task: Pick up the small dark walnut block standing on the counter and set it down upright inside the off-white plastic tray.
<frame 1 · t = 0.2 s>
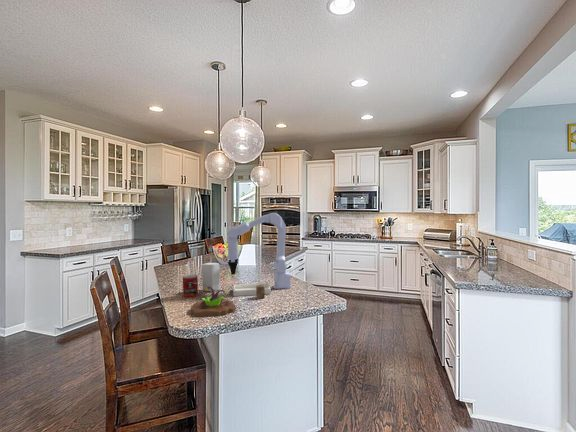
hand: (233, 272, 179), 10 cm above the countertop, tool pointing down, fingers open, 7 cm apart
walnut block: (260, 297, 163), on the countertop
plant: (212, 311, 143), on the countertop
canned food: (190, 296, 169), on the countertop
skincare box: (211, 290, 180), on the countertop
tray: (251, 291, 175), on the countertop
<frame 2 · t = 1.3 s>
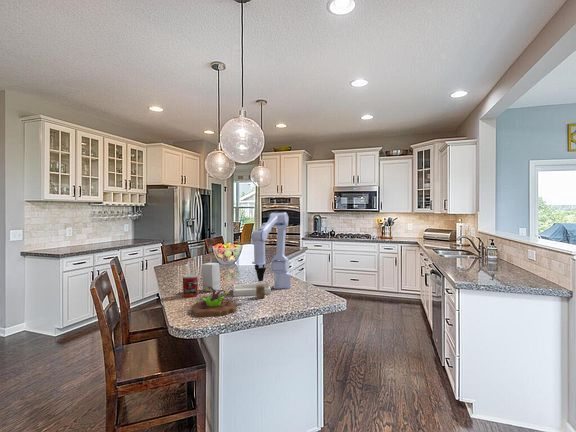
hand: (260, 279, 163), 9 cm above the countertop, tool pointing down, fingers open, 7 cm apart
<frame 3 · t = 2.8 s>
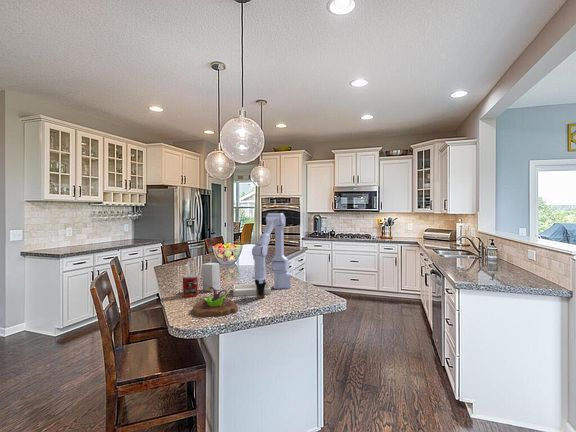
hand: (260, 294, 163), 2 cm above the countertop, tool pointing down, fingers closed on walnut block, 4 cm apart
walnut block: (260, 297, 163), on the countertop, touching gripper
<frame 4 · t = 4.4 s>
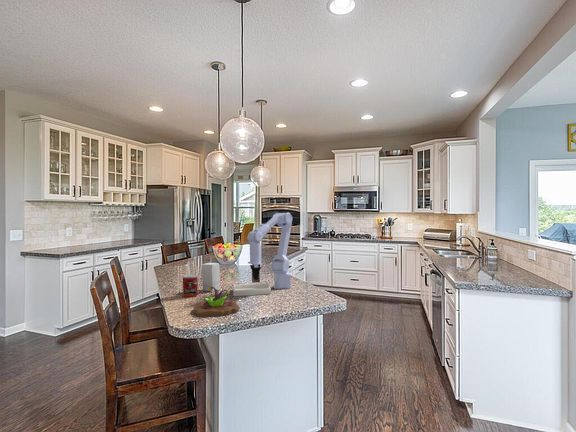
hand: (255, 278, 169), 9 cm above the countertop, tool pointing down, fingers closed on walnut block, 4 cm apart
walnut block: (255, 281, 169), point 7 cm above the countertop, touching gripper
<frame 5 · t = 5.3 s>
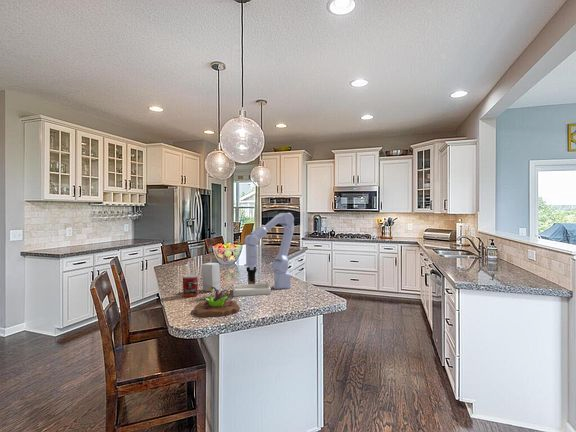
hand: (251, 280, 175), 6 cm above the countertop, tool pointing down, fingers closed on walnut block, 4 cm apart
walnut block: (251, 283, 175), point 5 cm above the countertop, touching gripper
when the fingers open (4 cm above the countertop, at t = 6.1 s): walnut block drops 1 cm, resting on tray.
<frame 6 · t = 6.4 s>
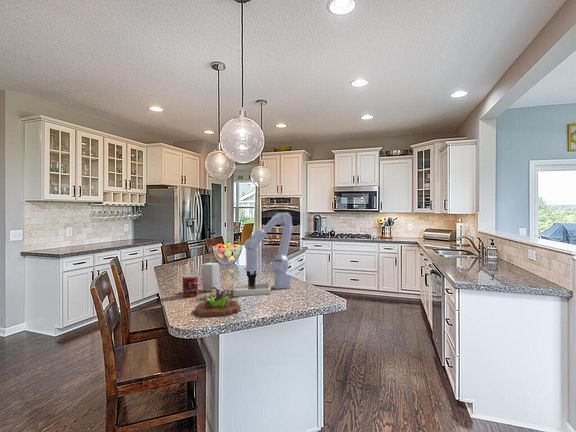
hand: (251, 284, 175), 4 cm above the countertop, tool pointing down, fingers open, 6 cm apart
walnut block: (251, 290, 175), point 1 cm above the countertop, touching tray
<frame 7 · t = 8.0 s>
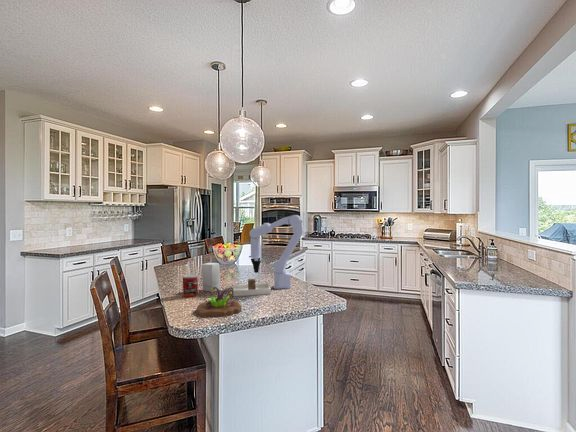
hand: (256, 271, 186), 9 cm above the countertop, tool pointing down, fingers open, 7 cm apart
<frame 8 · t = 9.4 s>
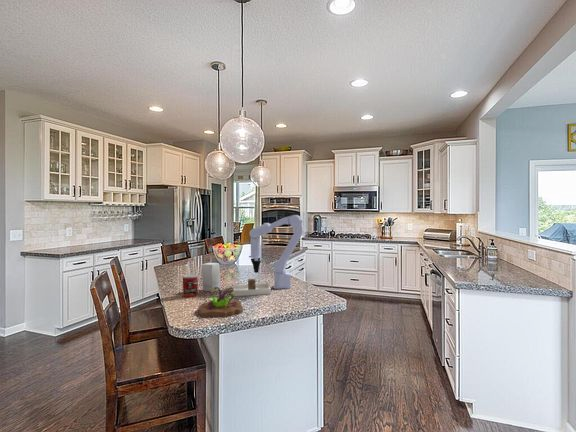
hand: (256, 271, 186), 9 cm above the countertop, tool pointing down, fingers open, 7 cm apart
at the end: walnut block inside the target area on the tray (0.1 cm from its centre), point 0.8 cm above the tray's base; walnut block tilted 0°; the gripper is holding nothing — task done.
